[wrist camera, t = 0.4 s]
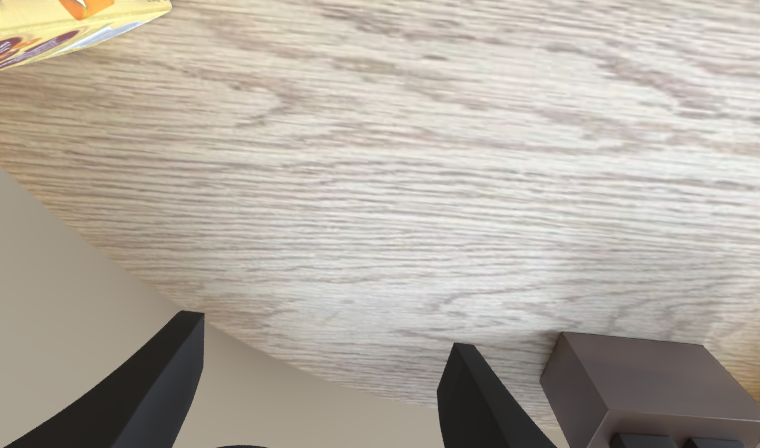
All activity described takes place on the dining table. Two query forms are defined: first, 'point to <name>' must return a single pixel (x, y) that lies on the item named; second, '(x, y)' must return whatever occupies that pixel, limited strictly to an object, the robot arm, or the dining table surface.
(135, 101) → the dining table surface
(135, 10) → the candy box
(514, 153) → the dining table surface
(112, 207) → the dining table surface
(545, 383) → the knife block
